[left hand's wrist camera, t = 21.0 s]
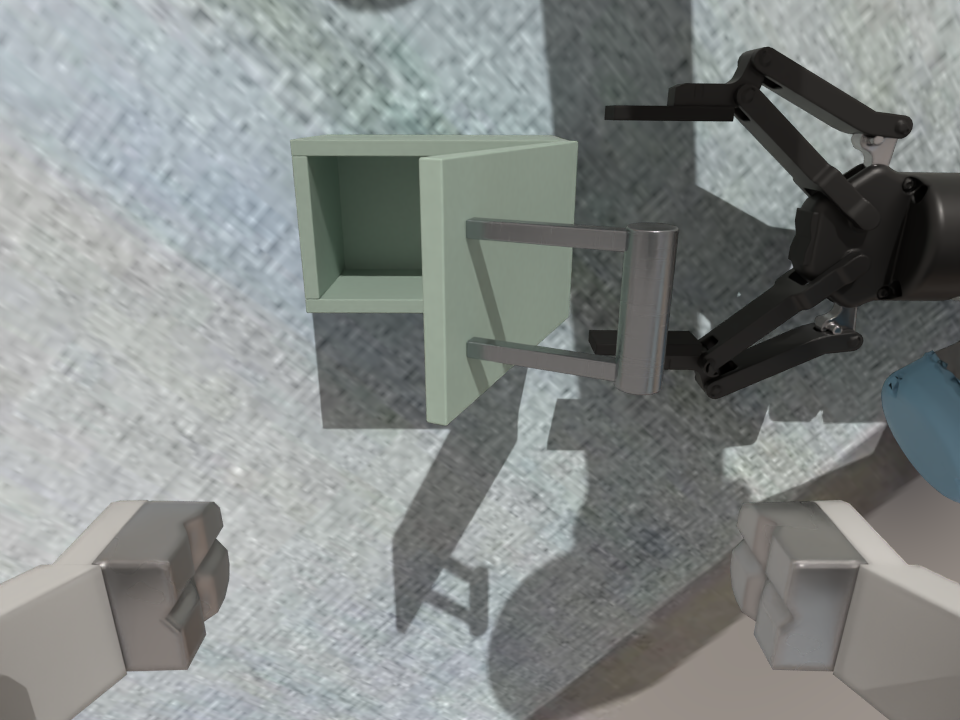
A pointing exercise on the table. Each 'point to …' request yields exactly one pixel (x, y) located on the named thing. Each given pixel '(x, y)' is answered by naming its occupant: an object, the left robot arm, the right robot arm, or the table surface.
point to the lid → (526, 275)
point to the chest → (369, 216)
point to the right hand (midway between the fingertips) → (599, 234)
